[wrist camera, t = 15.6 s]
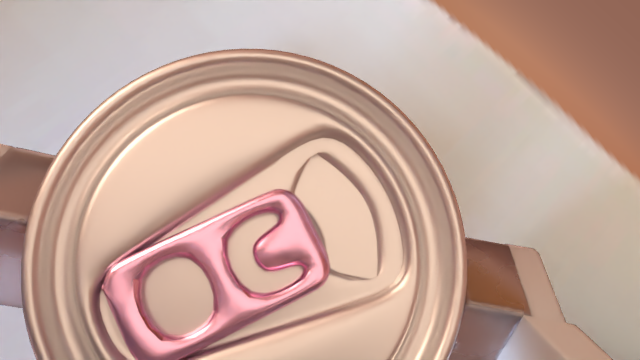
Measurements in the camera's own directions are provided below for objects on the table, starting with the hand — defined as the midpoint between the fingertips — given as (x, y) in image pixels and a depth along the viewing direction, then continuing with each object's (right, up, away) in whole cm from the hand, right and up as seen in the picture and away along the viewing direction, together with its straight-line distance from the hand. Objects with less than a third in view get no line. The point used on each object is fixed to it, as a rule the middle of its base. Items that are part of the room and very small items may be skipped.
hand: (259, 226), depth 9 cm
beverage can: (-1, -3, +13) cm, 13 cm away
